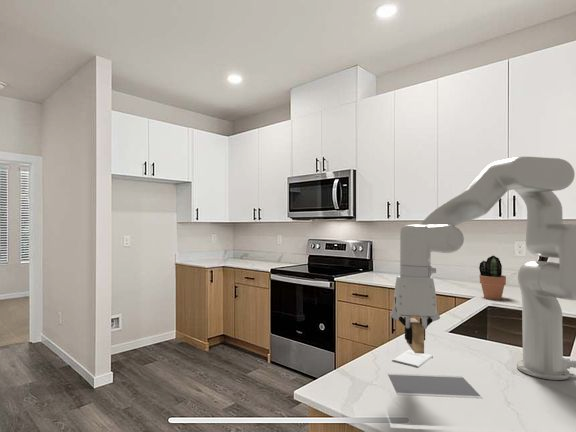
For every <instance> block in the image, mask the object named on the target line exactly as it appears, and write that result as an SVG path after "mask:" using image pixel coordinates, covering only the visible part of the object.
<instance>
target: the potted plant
mask: <svg viewBox="0 0 576 432" xmlns="http://www.w3.org/2000/svg"><path fill="white" fill-rule="evenodd" d="M478 269H479V273H480V274H479V284H481V289H482V294H483V297H484V298H485V299H488V300H497V301H499V300H502V298H503V293H504V289H505V286H506V285H507V275H503V265H502V263H501V260H500V258H499V257H497V256H495V255H491V256H488V258H487V259H486V260H482V261H481V262H479V267H478Z"/></svg>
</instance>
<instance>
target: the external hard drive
mask: <svg viewBox="0 0 576 432" xmlns="http://www.w3.org/2000/svg"><path fill="white" fill-rule="evenodd" d="M431 359H434V355H433V354H430V353H426V352H424V354H421V353H414V351H413V350H412V349H407V350H405V351H404V352H402V353H401V354H399V355H397V356H396V357H395V358H393V359H392V360H391V361H392V362H394V363H397V364H398V363H399V364H403V365H407V366H411V367H415V368H420V367H421V366H423V365H424V364H425V363H426V362H427V361H429V360H431Z"/></svg>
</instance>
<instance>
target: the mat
mask: <svg viewBox="0 0 576 432" xmlns="http://www.w3.org/2000/svg"><path fill="white" fill-rule="evenodd" d="M387 375H388V377H389V381H390V382H391V384H392V386H393V389H394V390H395V392H396V394H397V395H398V396H421V397H442V398H444V397H445V398H465V399H469V398H471V399H483V396H481V395H480V394H479V392H478V391H477V390H476V389H475V388H474V387H473V386H472V385H471V384H470V383H469V382H468V381H467V380H466V379H465V378H464V376H463V375H445V374H444V375H441V374H419V373H417V374H414V373H413V374H412V373H390V372H388V373H387Z"/></svg>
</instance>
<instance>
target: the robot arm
mask: <svg viewBox="0 0 576 432" xmlns="http://www.w3.org/2000/svg"><path fill="white" fill-rule="evenodd" d="M574 179H575V170H574V167H573V165H572V164H571V163H570V162H568V161H567V160H565V159H562V158H560V157H559V158H557V157H542V156H540V157H539V156H516V157H515V156H514V157H512V158H510V157H509V158H505V159H502V160H497V161H494V162H492V163H490V164H488V165H487V166H486V167H485V168H484V169H483V170H482V171H481V172H480V173H479V174H478V175H477V176H476V177H475V178H474V180H472V182H470V184H468V186H467V187H466V188H465V189H464V190H462V191H461V193H459V194H457V195H456V196H454V197H453V198H451V199H450V200H448V201H447V202H445V203H443V204H441V206H439V207H437V208H436V209H434V210H432V212H431V213H429V215H428V216H427V217H426V218H424V220H422V222H421V223H420V224H405V225H403V226H401V227H400V232H399V233H400V234H399V235H400V238H399V240H400V244H399V245H400V249H399V252H400V255H399V260H400V261H399V263H400V264H399V266H400V267H399V274H400V275H397V276H396V280H395V285H394V293H393V308H392V310H391V312H390V317H391V318H392V319H394V320H397V321H399V322H400V323H401V324H402V325H403V326H404V339H405V341H406V340H407V342H408V343H409V344H412V329H411V325H410V318H411V317H418V318H419V321H418V322H419V323H420V324H421V325H422V326H423V327H424V341H426V330H427V328H428V326H430V325H431V323H433V322H436V321H438V320H440V318H441V316H440V314H439V311H438V309H437V295H436V287H435V281H434V278H433V277H432V275H433V274H436V273H437V268H436V267H432V266H431V264H432V263H431V257H432V256H431V255H432V253H433V252H434V253H438V254H439V253H440V254H452V253H454V252H457V251H458V250H460V249H461V248H462V247H463V244H464V240H465V237H464V234H463V232H462V231H461V230H460V228H458V227H457V226H458V225H462V224H463V223H466V222H470V221H473V220H475V219H478V218H480V217H482V216H484V215H485V216H486V214H488V212H490V211H491V210H492V208H493V207H494V206H495V205H496V204H497V203H498V202H499V200H501V199H502V198H503V196H505V194H506V193H507V192H509V191H512V190H513V191H515V192H516V193H517V194H518V195H519V196H520V198H521V199H522V200H523V202H524V204H525V206H526V213H527V214H526V216H527V217H526V229H525V230H526V231H525V232H526V233H525V234H526V235H525V244H526V249H527V251H528V252H529V253H530V254H531V255H534V256H537V257H538V256H539V257H544V258H552V259H558V260H559V262H554V261H542V260H532V261H531V260H530V261H528V262H526V263H525V262H524V264H522V265H521V266H520V267H519V270H518V273H517V281H518V285H519V290H520V295H521V296H520V297H521V303H522V304H521V307H522V308H521V309H522V313H521V315H522V317H521V318H522V323H521V324H522V326H521V327H522V360H521V359H520V360H519V361H517V362H516V368H517V369H518V370H519V371H520V372H522V373H524V374H527V375H529V376H531V377H534V378H539V379H545V380H550V381H563V380H565V381H566V380H567V379H570V377H571V372H570V371H569V370H568V369H571V368H573V369H576V360H571V359H570V358H566V357H563V355H564V354H563V351H564V347H563V345H564V344H563V310H562V307H561V304H560V302H559V300H558V299H562V300H566V301H574V302H575V301H576V224H575V223H564V222H563V206H562V202H561V201H560V199H559V197H558V196H557V195H556V194H555V193H554V192H556V191H561V190H565V189H567V188H568V187H570V186H571V184H572V183H574ZM407 342H406V343H407ZM408 343H407V344H408Z"/></svg>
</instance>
